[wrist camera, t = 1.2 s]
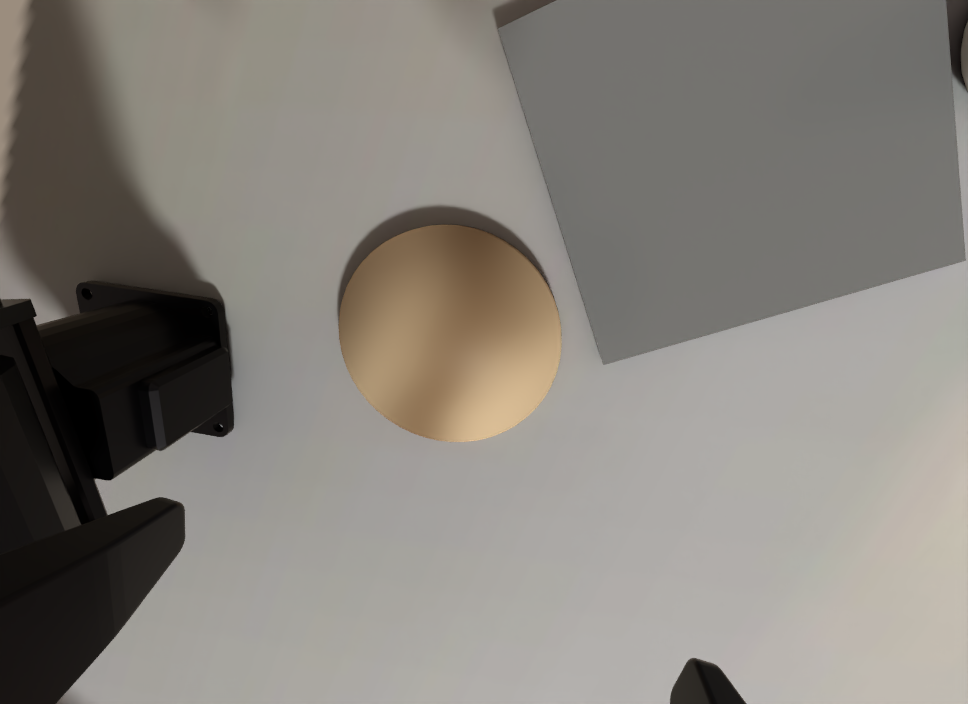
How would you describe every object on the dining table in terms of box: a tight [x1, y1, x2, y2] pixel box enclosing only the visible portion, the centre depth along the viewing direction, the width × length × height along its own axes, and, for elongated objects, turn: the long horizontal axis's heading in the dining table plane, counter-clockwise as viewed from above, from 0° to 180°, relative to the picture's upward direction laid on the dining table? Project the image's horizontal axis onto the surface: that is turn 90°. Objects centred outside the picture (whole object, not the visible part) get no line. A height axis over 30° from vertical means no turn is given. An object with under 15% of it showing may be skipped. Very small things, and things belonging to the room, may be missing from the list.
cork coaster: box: [339, 224, 562, 442], centre depth 19 cm, size 9×9×1 cm
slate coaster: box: [498, 0, 966, 365], centre depth 15 cm, size 12×12×1 cm
